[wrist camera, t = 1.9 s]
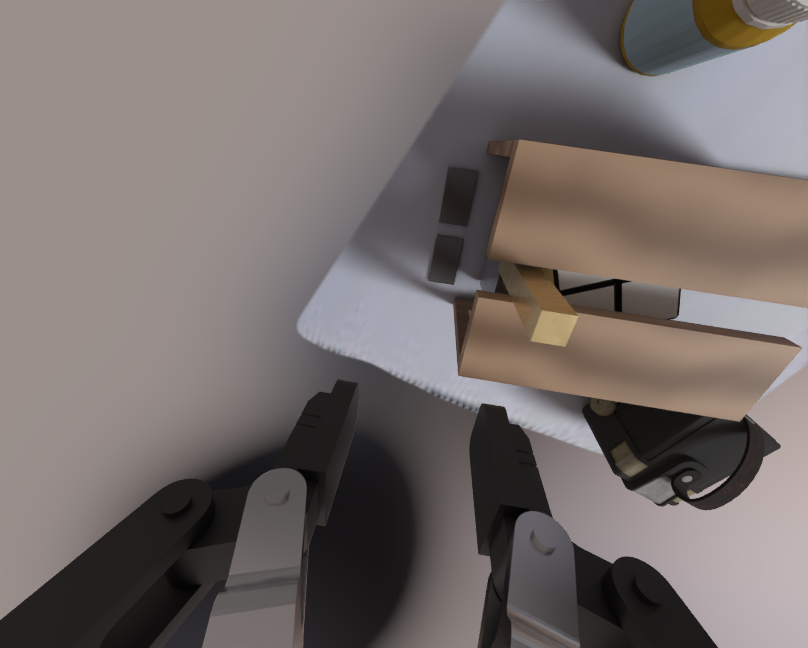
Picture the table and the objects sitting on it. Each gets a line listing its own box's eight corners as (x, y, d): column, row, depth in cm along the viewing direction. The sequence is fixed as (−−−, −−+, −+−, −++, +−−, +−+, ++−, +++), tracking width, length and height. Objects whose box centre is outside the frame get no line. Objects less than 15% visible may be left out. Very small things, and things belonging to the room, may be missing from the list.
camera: (568, 408, 47) (617, 509, 34) (650, 338, 41) (749, 430, 28) (624, 440, 49) (691, 548, 36) (711, 379, 43) (832, 483, 29)
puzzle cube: (625, 188, 33) (691, 204, 25) (625, 279, 38) (681, 319, 29) (523, 216, 36) (550, 239, 27) (534, 299, 40) (560, 342, 31)
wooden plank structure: (453, 136, 33) (461, 131, 20) (885, 198, 31) (1185, 233, 19) (425, 300, 41) (418, 369, 29) (762, 353, 40) (910, 449, 27)
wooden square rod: (503, 183, 34) (572, 227, 16) (522, 186, 34) (614, 233, 16) (478, 283, 39) (508, 400, 21) (494, 285, 39) (539, 405, 21)
